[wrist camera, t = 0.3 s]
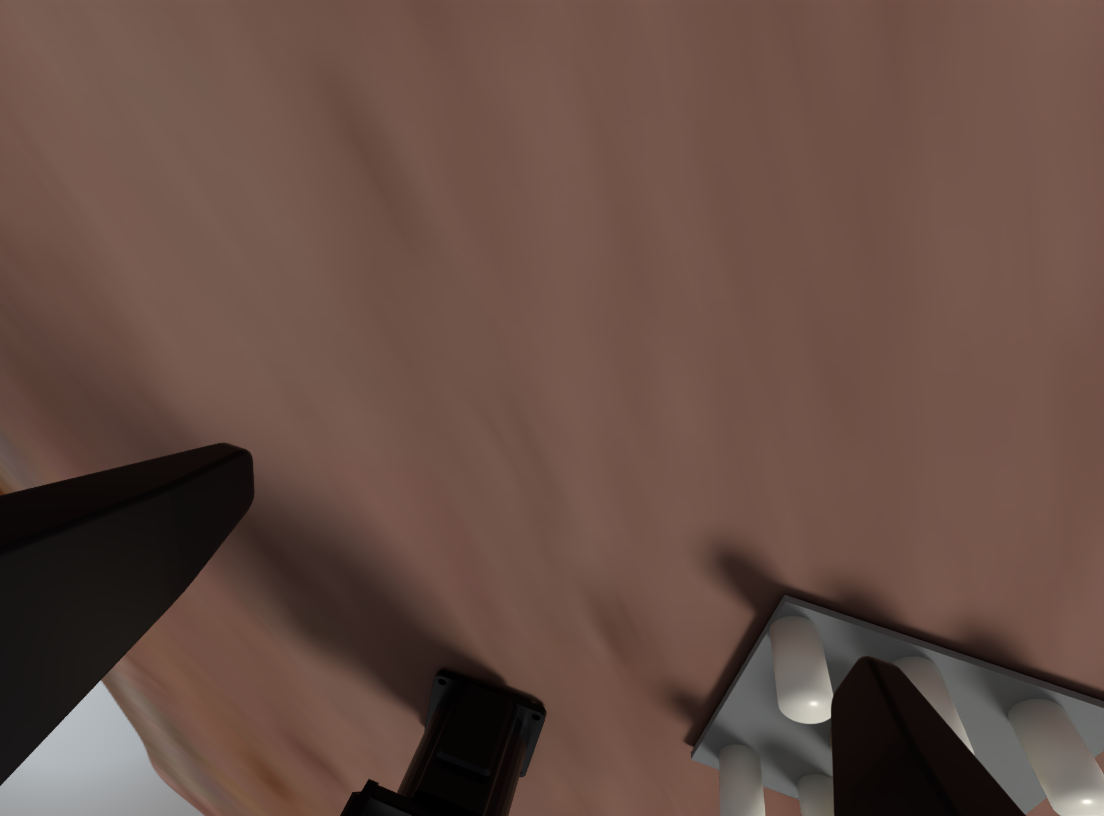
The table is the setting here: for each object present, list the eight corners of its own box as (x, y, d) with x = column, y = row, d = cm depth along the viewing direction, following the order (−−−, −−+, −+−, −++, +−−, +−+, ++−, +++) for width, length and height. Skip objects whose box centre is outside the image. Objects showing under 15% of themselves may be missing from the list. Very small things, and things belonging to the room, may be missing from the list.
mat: (964, 852, 29) (967, 862, 28) (691, 752, 30) (691, 759, 30) (1133, 711, 23) (1139, 720, 23) (784, 594, 24) (785, 601, 24)
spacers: (931, 842, 28) (958, 929, 25) (694, 754, 30) (692, 826, 27) (1078, 709, 23) (1134, 800, 20) (780, 609, 24) (791, 680, 21)
